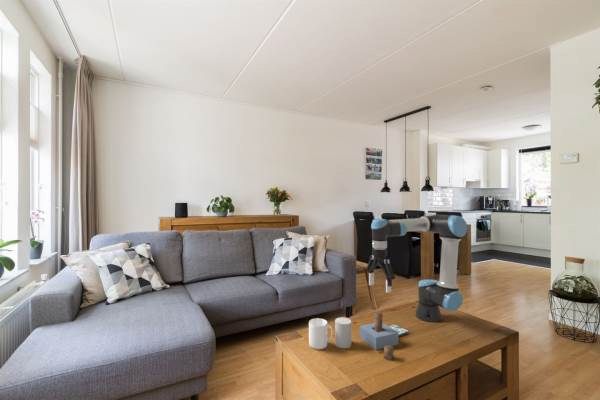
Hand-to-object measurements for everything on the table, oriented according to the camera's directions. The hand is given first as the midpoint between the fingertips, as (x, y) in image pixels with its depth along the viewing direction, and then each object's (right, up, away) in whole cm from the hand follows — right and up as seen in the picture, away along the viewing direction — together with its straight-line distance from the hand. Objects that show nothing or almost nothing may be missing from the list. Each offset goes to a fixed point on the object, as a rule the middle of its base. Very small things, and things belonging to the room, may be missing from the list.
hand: (379, 288), depth 151 cm
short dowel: (-1, -27, -18) cm, 32 cm away
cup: (-20, -27, -5) cm, 34 cm away
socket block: (-1, -27, -2) cm, 27 cm away
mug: (-32, -27, -6) cm, 42 cm away
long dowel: (-1, -27, -2) cm, 27 cm away
